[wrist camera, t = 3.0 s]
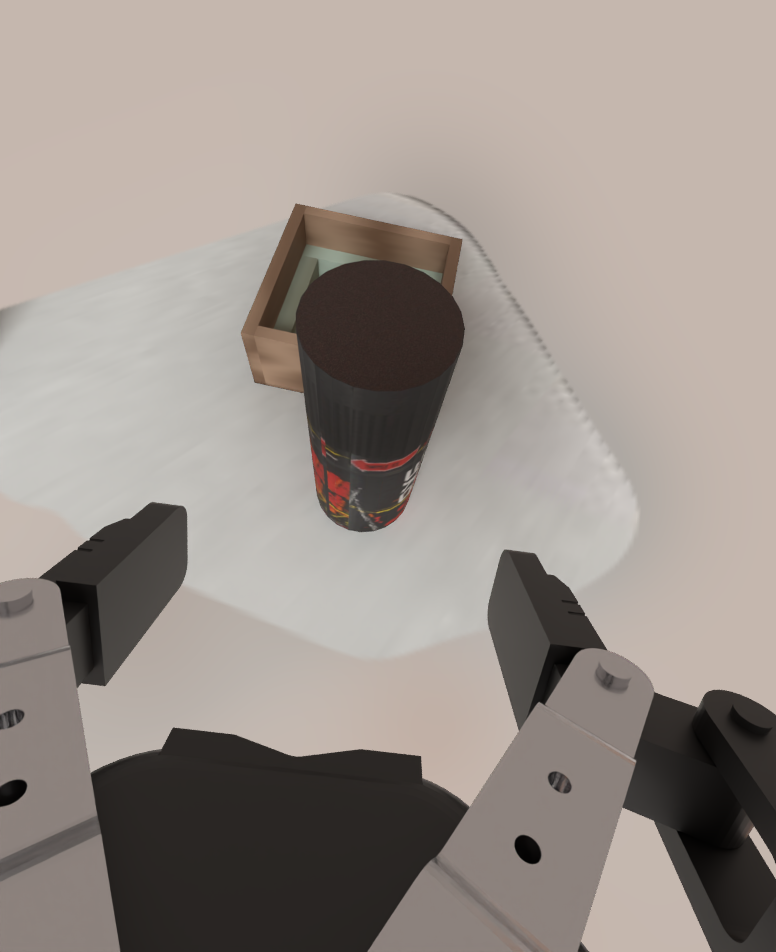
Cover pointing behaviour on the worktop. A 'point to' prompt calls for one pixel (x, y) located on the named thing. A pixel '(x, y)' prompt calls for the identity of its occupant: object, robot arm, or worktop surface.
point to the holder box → (308, 257)
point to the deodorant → (373, 383)
